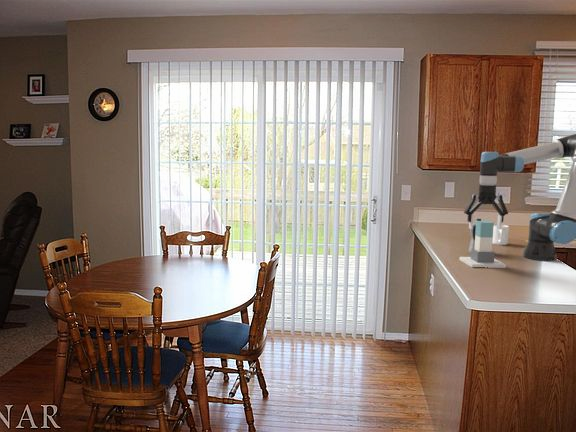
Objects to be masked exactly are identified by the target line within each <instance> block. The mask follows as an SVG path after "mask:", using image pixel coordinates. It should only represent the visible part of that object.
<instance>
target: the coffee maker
mask: <svg viewBox="0 0 576 432" xmlns="http://www.w3.org/2000/svg"><path fill="white" fill-rule="evenodd" d="M476 221H482V218H476ZM475 231H476V222H475V223H473V229H470V237H471V239H470V242H469V248H468V252H469V253H471V249H474V248H475Z"/></svg>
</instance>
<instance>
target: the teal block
mask: <svg viewBox="0 0 576 432" xmlns="http://www.w3.org/2000/svg"><path fill="white" fill-rule="evenodd" d="M475 223H476V231H475V235H476V236H479V237H493V228H494V225H495V223H494V222H493V221H491V220H481V221H477V220H476V221H475Z"/></svg>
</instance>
